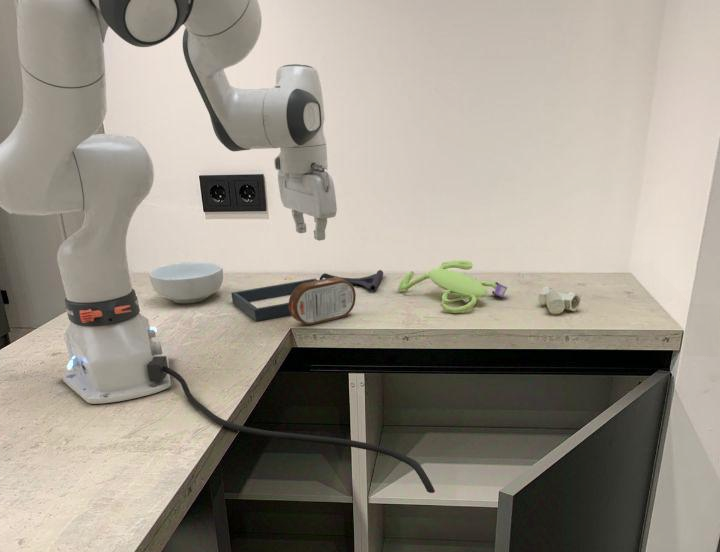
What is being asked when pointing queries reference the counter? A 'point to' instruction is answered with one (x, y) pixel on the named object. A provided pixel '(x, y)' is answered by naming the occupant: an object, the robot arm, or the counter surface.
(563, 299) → the pipe fitting
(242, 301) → the tray
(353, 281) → the bracket
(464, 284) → the figurine
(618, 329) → the counter surface
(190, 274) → the cereal bowl
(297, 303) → the tin
